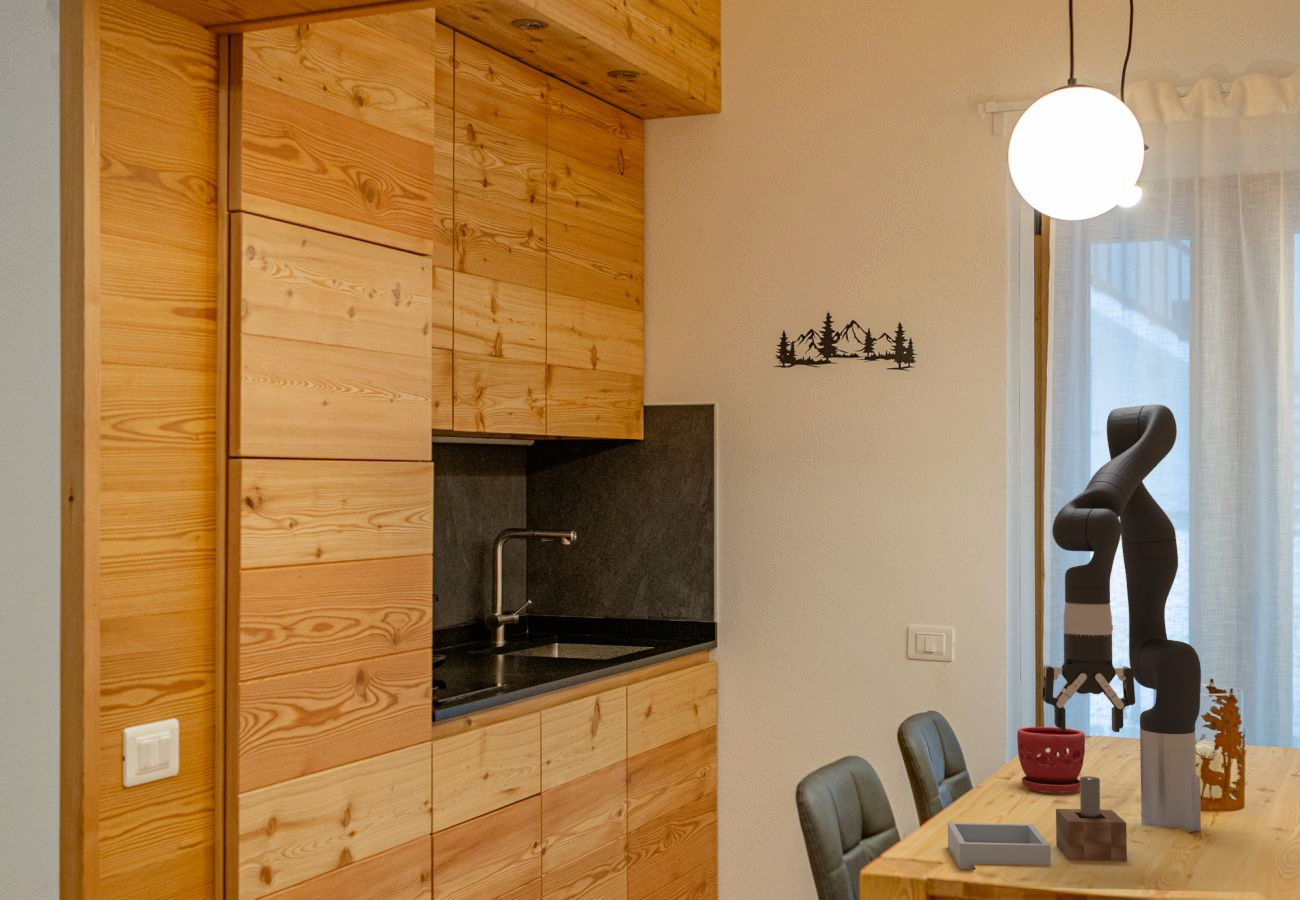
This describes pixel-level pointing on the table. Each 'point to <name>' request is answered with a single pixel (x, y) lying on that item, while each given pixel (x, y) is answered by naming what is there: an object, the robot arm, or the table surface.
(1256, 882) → the table surface
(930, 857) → the table surface
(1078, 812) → the pin block
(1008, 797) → the table surface
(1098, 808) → the pin
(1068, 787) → the plant pot
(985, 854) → the tray
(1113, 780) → the table surface
